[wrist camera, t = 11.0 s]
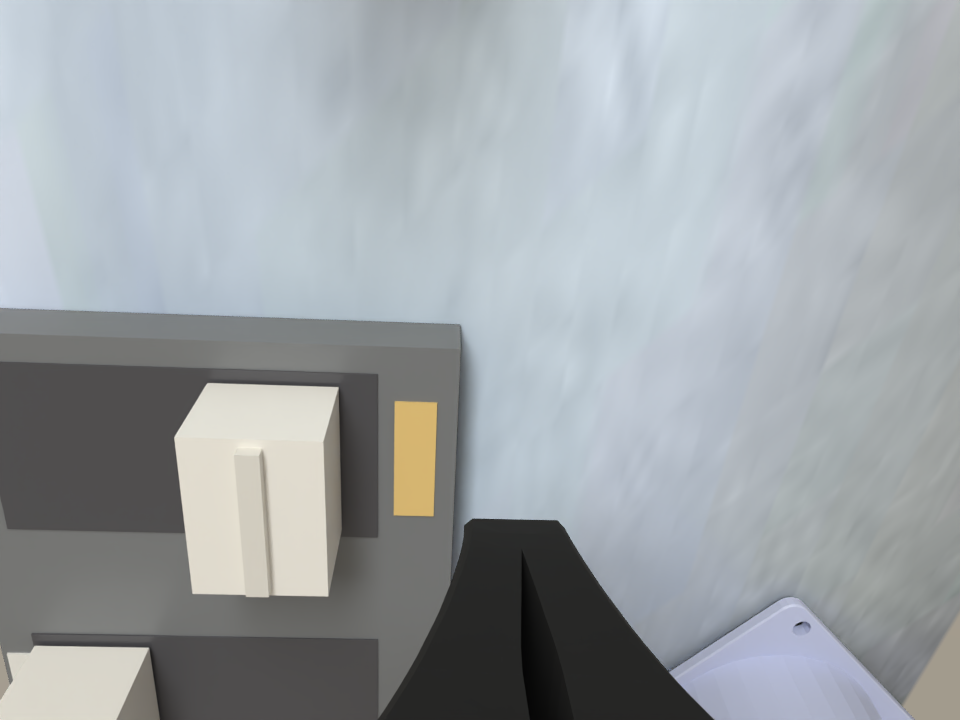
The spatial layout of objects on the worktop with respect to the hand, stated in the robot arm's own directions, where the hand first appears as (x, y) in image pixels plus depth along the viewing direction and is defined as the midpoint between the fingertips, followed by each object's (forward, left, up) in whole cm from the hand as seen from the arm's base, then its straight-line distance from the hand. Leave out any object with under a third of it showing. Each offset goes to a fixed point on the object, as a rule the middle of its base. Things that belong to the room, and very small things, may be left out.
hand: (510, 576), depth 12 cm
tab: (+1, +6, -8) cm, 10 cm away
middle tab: (-1, +15, -8) cm, 17 cm away
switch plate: (-3, +12, -9) cm, 16 cm away
